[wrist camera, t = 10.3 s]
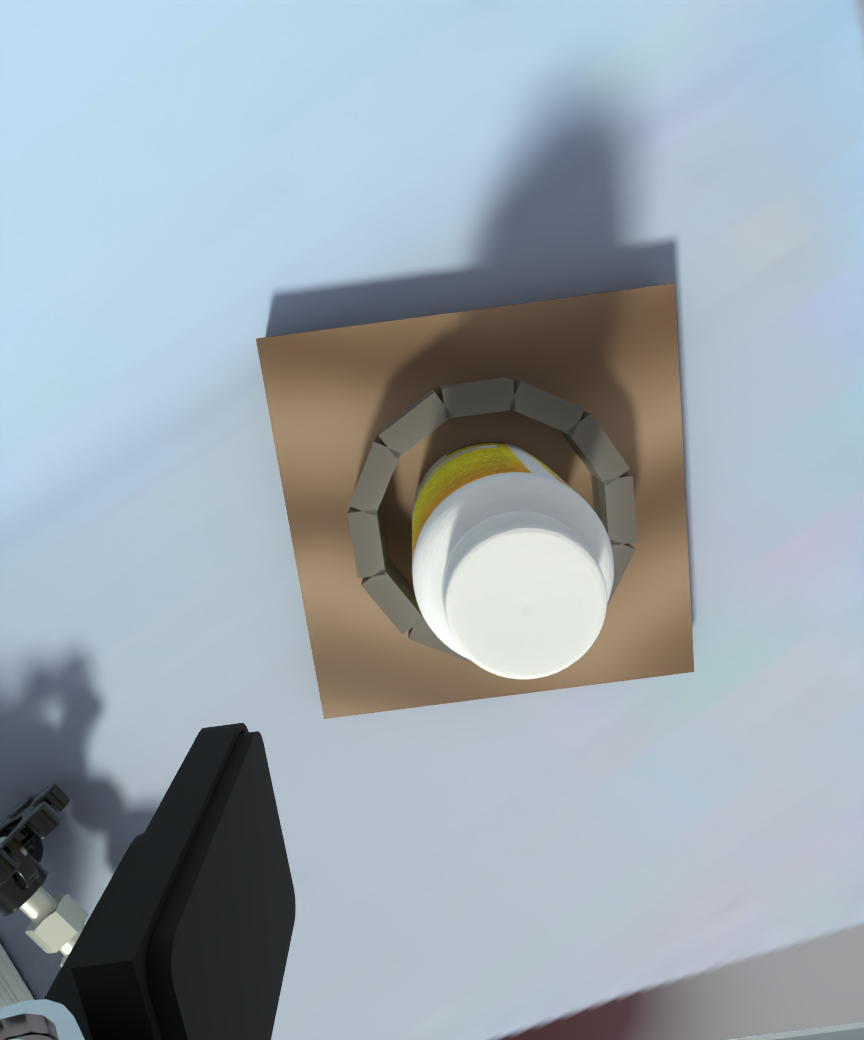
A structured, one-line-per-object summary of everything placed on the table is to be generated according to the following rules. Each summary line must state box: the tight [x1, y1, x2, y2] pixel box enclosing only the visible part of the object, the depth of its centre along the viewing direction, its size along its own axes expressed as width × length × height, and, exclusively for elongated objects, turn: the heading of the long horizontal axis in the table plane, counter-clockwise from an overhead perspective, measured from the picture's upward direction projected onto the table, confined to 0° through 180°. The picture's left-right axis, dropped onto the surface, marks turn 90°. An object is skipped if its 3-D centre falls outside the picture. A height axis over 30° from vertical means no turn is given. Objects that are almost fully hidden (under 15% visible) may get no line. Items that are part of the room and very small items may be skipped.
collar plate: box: [256, 283, 694, 719], centre depth 27 cm, size 15×15×4 cm
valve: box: [0, 784, 88, 967], centre depth 29 cm, size 7×7×12 cm
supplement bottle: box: [412, 441, 614, 679], centre depth 22 cm, size 6×6×10 cm
